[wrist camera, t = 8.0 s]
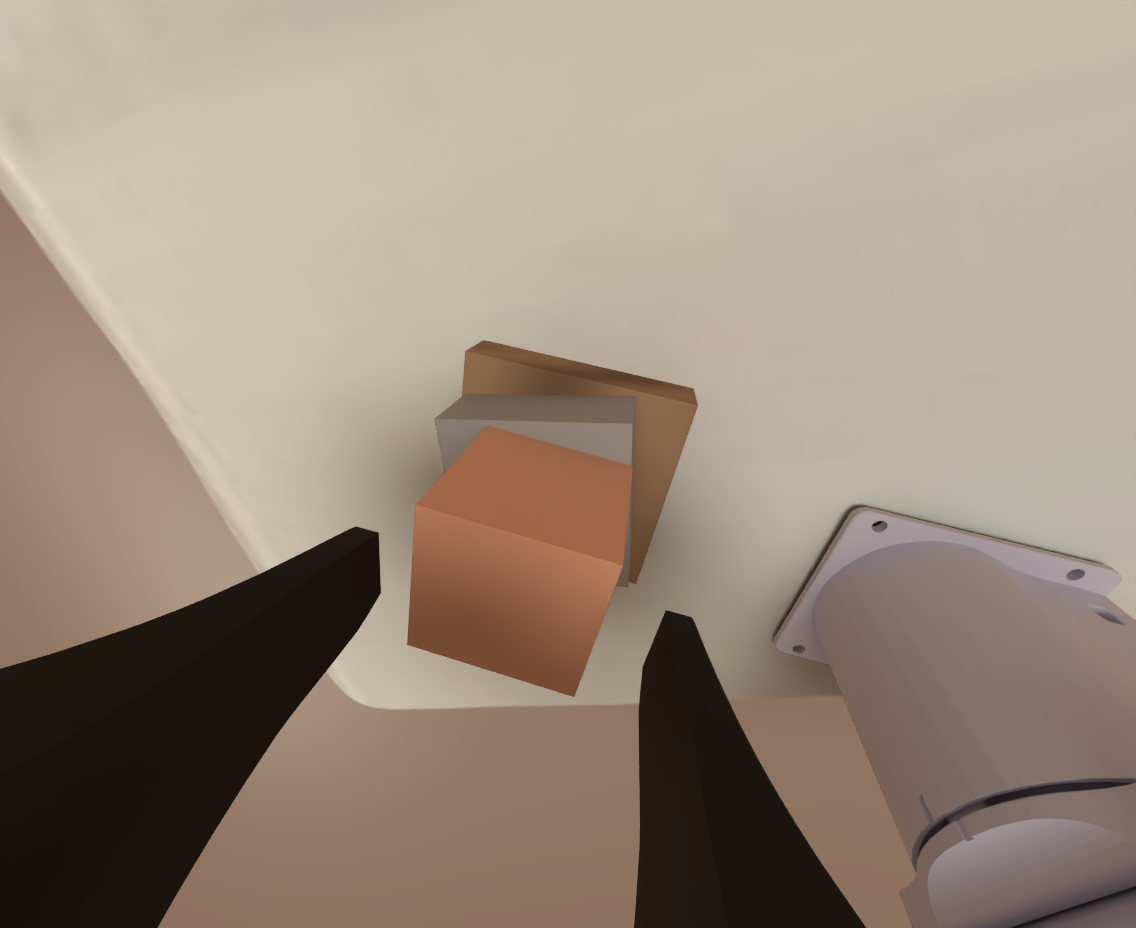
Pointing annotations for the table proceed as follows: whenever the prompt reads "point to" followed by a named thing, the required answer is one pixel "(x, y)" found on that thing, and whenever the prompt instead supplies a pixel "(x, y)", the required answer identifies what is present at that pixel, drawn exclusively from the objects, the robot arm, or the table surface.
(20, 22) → the table surface
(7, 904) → the robot arm
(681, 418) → the walnut slab
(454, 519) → the terracotta cube
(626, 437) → the grey slab
